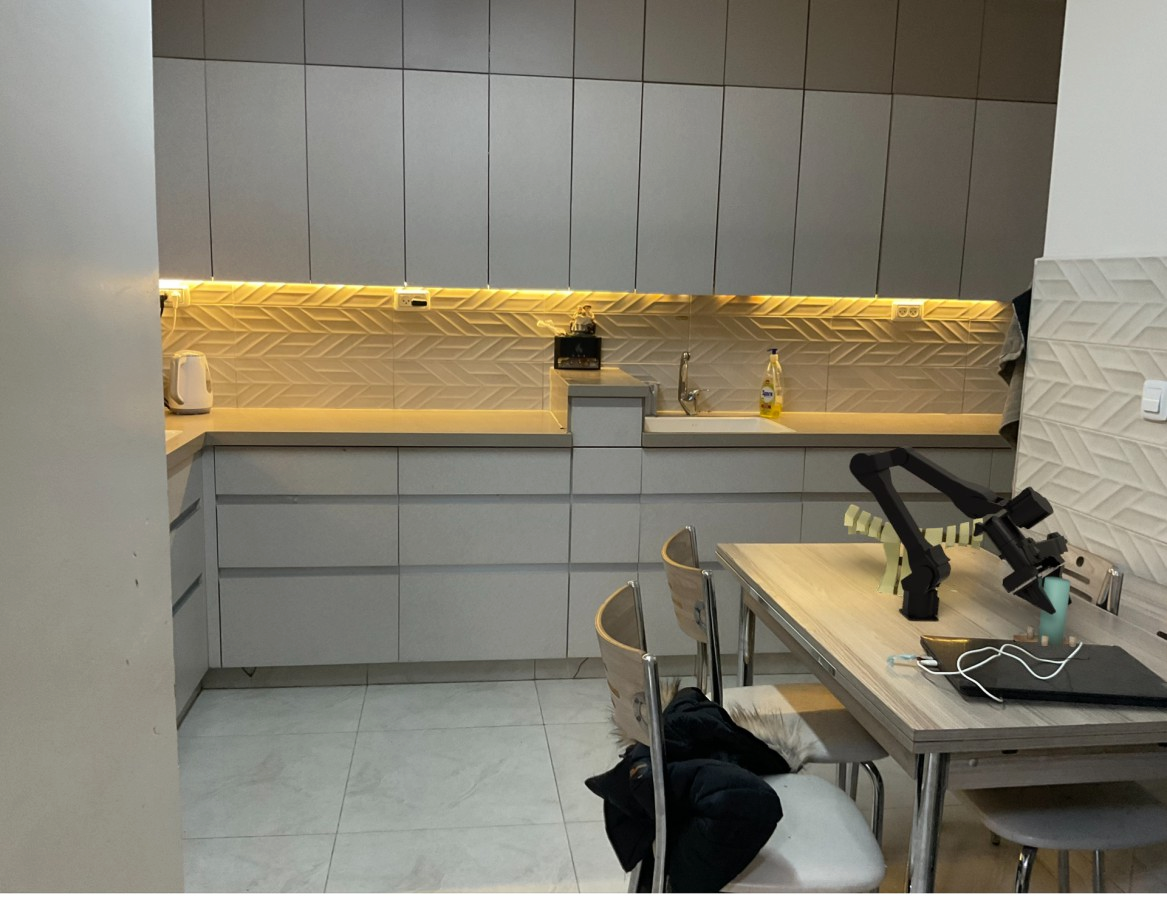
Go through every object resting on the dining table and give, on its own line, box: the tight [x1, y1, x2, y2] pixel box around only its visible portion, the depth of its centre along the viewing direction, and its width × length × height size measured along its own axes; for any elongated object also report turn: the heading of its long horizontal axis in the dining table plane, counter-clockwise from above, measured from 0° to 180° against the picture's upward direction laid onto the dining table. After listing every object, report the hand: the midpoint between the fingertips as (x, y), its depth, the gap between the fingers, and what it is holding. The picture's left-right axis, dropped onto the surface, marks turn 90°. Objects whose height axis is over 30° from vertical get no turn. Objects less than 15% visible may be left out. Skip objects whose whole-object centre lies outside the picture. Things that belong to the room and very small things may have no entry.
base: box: [1012, 625, 1077, 647], centre depth 192 cm, size 10×10×4 cm
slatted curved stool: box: [843, 504, 984, 596], centre depth 230 cm, size 30×16×18 cm, turn 69°
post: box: [1037, 577, 1071, 645], centre depth 191 cm, size 4×4×13 cm
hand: (1062, 608), depth 190 cm, fingers open, 9 cm apart
